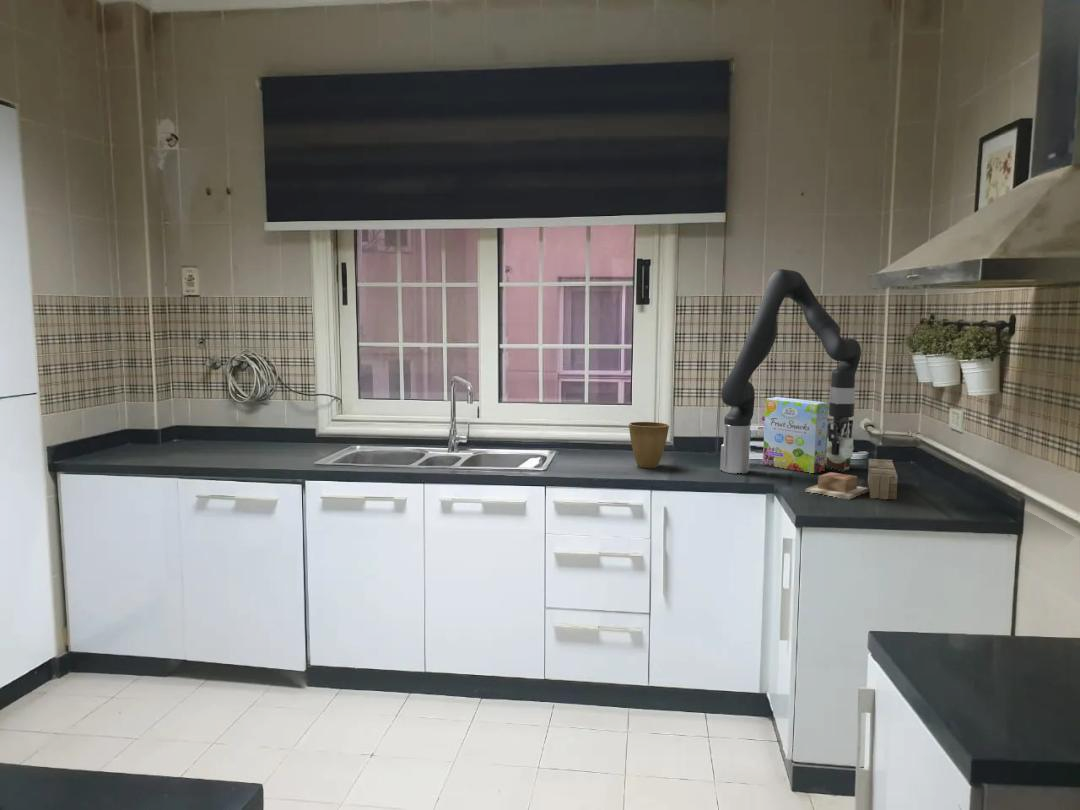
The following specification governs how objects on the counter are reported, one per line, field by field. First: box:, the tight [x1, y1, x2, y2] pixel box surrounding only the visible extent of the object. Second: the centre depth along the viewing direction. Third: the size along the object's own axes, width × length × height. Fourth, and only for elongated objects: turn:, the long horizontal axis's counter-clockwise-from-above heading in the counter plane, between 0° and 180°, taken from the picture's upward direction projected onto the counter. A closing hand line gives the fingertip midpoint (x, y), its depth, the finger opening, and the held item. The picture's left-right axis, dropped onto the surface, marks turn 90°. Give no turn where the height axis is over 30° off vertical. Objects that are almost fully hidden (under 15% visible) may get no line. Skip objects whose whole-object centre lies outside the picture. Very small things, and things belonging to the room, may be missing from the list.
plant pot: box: [628, 421, 670, 469], centre depth 292 cm, size 15×15×16 cm
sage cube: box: [825, 437, 854, 459], centre depth 252 cm, size 6×6×6 cm
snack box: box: [762, 396, 829, 474], centre depth 290 cm, size 22×9×26 cm, turn 42°
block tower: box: [867, 458, 898, 500], centre depth 257 cm, size 8×8×29 cm
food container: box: [825, 439, 855, 472], centre depth 292 cm, size 12×6×10 cm, turn 22°
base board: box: [804, 471, 870, 500], centre depth 253 cm, size 14×16×5 cm
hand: (839, 453), depth 252 cm, fingers closed on sage cube, 6 cm apart
